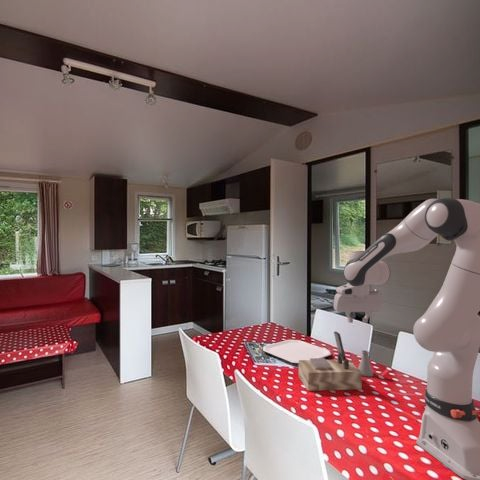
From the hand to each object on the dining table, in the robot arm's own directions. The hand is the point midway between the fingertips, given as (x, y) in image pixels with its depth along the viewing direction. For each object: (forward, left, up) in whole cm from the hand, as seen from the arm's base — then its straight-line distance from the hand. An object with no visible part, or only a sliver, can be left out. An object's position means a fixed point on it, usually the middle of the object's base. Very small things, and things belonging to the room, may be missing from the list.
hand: (357, 322), depth 133 cm
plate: (+34, +16, -26) cm, 45 cm away
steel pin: (0, +16, -24) cm, 29 cm away
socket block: (0, +12, -25) cm, 28 cm away
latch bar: (0, +8, -10) cm, 13 cm away
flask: (+8, -8, -25) cm, 28 cm away
